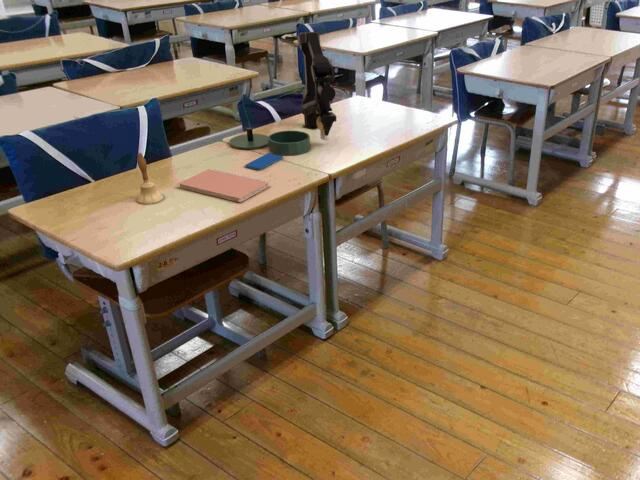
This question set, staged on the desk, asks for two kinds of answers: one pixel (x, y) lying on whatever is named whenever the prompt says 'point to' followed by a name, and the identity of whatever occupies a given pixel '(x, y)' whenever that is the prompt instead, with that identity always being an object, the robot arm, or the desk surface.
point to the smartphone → (264, 161)
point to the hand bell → (147, 185)
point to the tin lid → (249, 140)
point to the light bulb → (322, 130)
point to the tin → (289, 143)
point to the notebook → (224, 185)
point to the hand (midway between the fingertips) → (324, 133)
